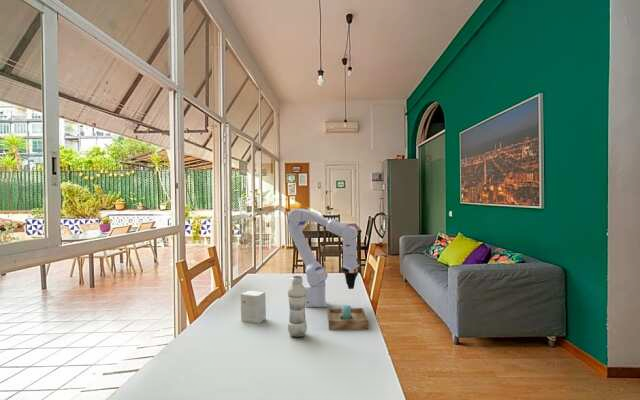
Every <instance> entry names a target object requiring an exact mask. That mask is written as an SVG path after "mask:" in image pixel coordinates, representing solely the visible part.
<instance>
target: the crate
mask: <svg viewBox="0 0 640 400" xmlns="http://www.w3.org/2000/svg"><path fill="white" fill-rule="evenodd" d="M327 323H328V330H332V331H333V330H369V319H368V317H367V315H366V313H365V310H364V308H363V307H351V320H342V307H340V308H337V307H336V308H334V307H333V308H331V307H330V308H327Z"/></svg>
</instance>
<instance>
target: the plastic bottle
mask: <svg viewBox="0 0 640 400" xmlns="http://www.w3.org/2000/svg"><path fill="white" fill-rule="evenodd" d="M291 283H292V284H291V285H290V287H289V288H288V291H287V296H288V304H289V317H288V318H289V319H288V327H287V329H288V333H289V335H290V336H291V337H296V338H300V337H304V336H305V335H306V333H307V331H308V330H307V329H308V327H307V326H308V325H307V321H306V307H305V300H306V289H305V285H303V283H304V282H303V276H302V275H301V276H300V275H293V276H292V277H291Z"/></svg>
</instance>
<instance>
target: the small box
mask: <svg viewBox="0 0 640 400" xmlns="http://www.w3.org/2000/svg"><path fill="white" fill-rule="evenodd" d="M266 301H267V300H266V292H263V291H256V290H247V291H245V292H242V293H240V317H241V320H240V321H242V322H249V323H255V324H259V323H261V322H263V321H264V320H266V319H267V312H266V311H267V309H266V306H267V305H266Z"/></svg>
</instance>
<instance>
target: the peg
mask: <svg viewBox="0 0 640 400" xmlns="http://www.w3.org/2000/svg"><path fill="white" fill-rule="evenodd" d="M341 308H342V320H351V308H352V307H351V305H349V304H348V305H347V304H346V305H342V306H341Z"/></svg>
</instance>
